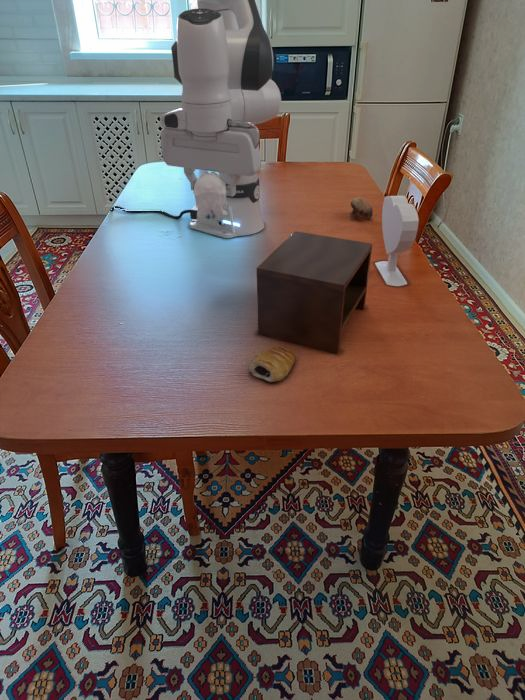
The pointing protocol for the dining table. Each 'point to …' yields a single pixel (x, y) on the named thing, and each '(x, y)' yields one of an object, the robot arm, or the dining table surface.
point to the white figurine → (210, 194)
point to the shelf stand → (312, 289)
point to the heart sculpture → (397, 236)
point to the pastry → (273, 363)
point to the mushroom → (360, 209)
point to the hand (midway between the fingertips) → (213, 192)
